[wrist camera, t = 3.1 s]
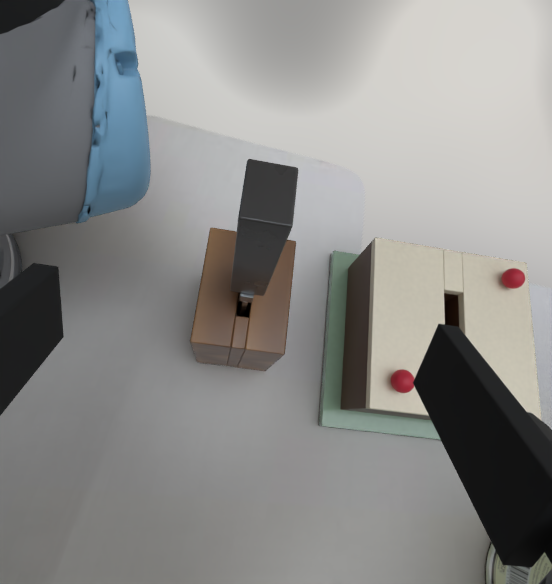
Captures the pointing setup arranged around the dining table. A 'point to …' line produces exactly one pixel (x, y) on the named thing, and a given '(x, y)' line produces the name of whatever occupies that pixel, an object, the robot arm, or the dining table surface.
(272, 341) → the knife block
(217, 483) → the dining table surface
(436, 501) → the dining table surface
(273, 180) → the knife
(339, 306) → the cake platter
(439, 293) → the cake
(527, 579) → the coffee can
